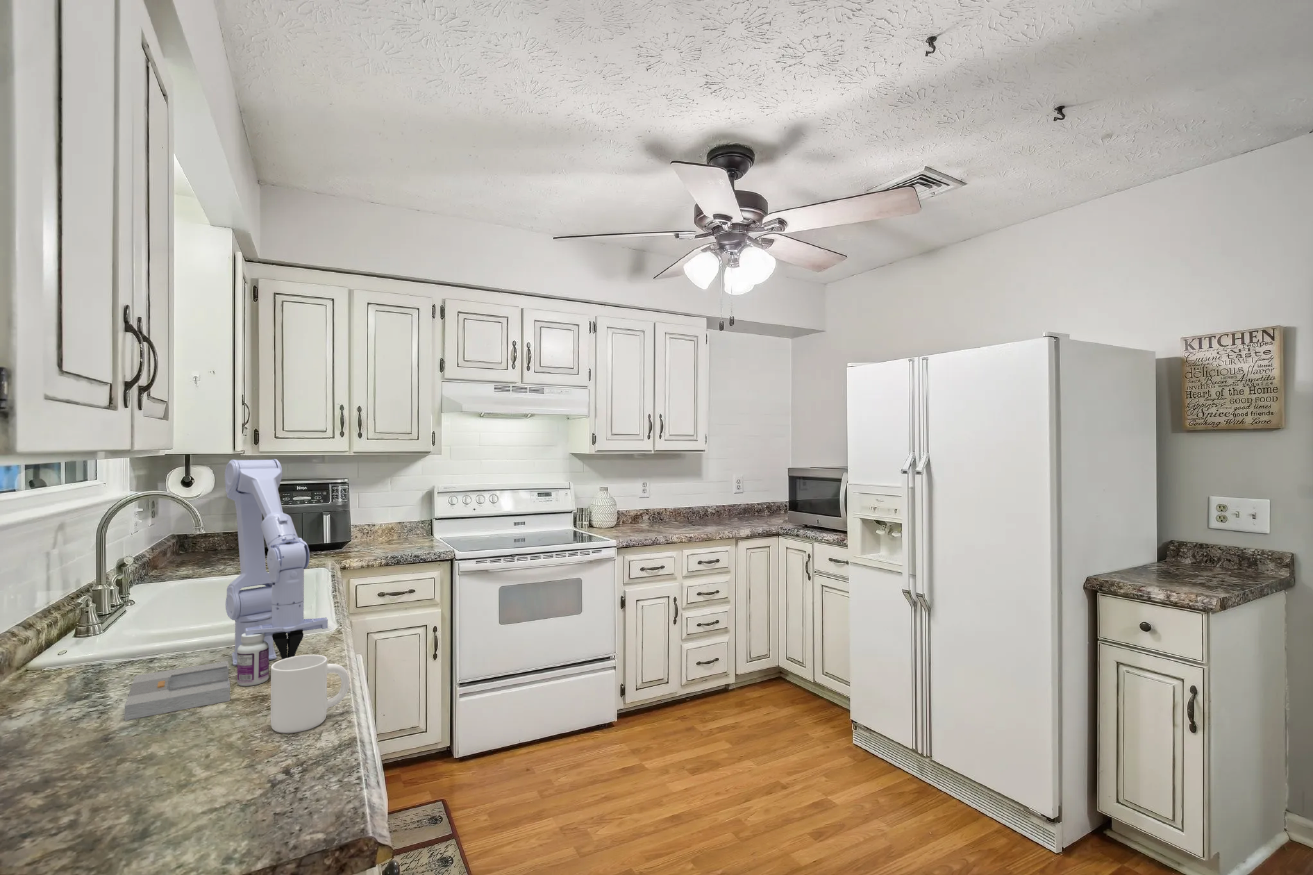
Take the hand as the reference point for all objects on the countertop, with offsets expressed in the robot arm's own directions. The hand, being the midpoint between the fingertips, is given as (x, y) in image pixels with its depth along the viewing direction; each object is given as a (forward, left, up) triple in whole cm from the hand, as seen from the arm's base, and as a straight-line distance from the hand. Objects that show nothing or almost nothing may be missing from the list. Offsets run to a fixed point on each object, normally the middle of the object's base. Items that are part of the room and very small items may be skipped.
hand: (287, 668), depth 131 cm
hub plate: (0, -17, -1) cm, 18 cm away
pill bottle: (0, -6, -2) cm, 6 cm away
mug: (+28, +1, -2) cm, 28 cm away
